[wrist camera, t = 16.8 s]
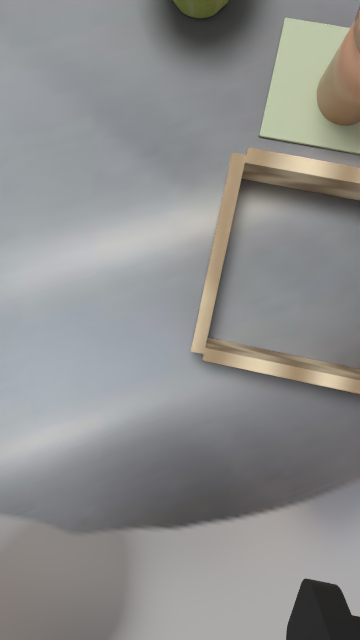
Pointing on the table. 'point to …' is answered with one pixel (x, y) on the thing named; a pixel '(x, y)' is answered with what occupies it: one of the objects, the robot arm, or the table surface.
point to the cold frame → (250, 167)
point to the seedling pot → (342, 81)
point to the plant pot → (200, 7)
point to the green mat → (305, 89)
